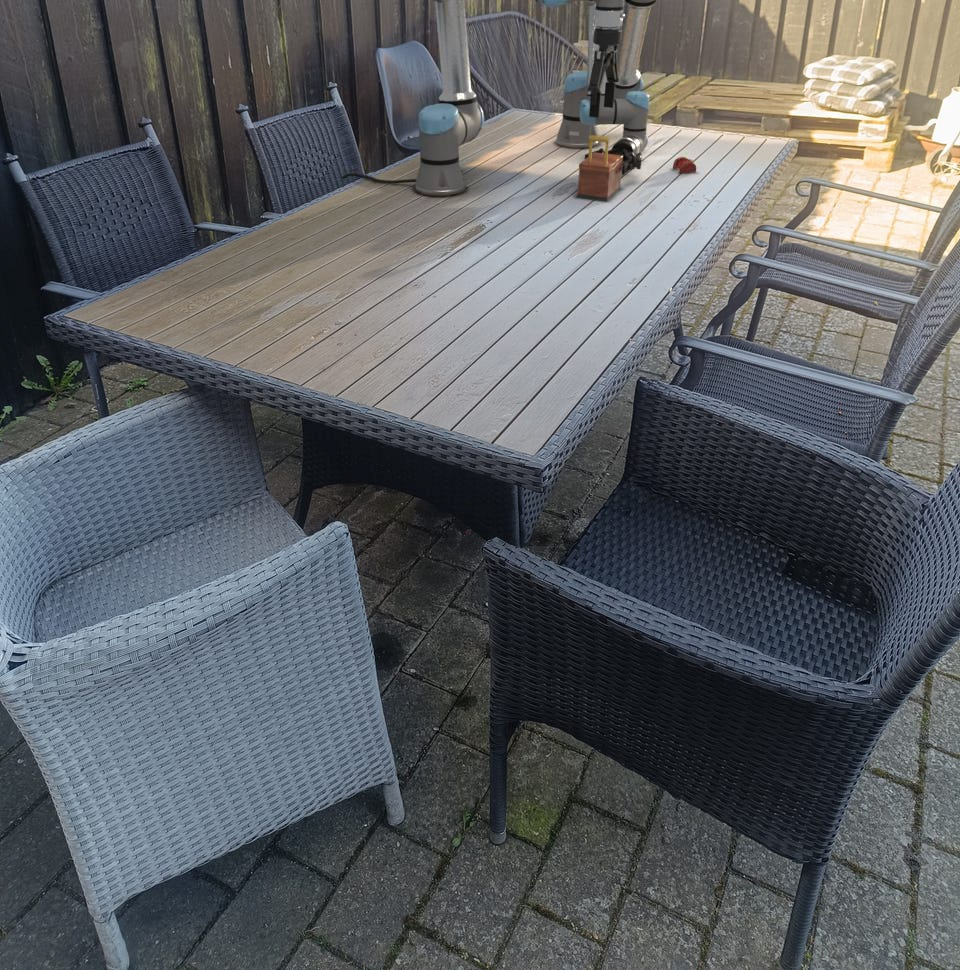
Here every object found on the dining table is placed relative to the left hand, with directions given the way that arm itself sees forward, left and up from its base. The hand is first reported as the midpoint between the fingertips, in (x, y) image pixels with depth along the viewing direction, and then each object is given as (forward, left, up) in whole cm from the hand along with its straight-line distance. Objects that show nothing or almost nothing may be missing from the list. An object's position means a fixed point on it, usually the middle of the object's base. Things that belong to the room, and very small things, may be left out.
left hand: (601, 112), depth 239 cm
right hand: (-2, +8, -17) cm, 19 cm away
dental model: (+8, +42, -24) cm, 49 cm away
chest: (-1, +4, -24) cm, 24 cm away
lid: (-1, +4, -15) cm, 15 cm away
